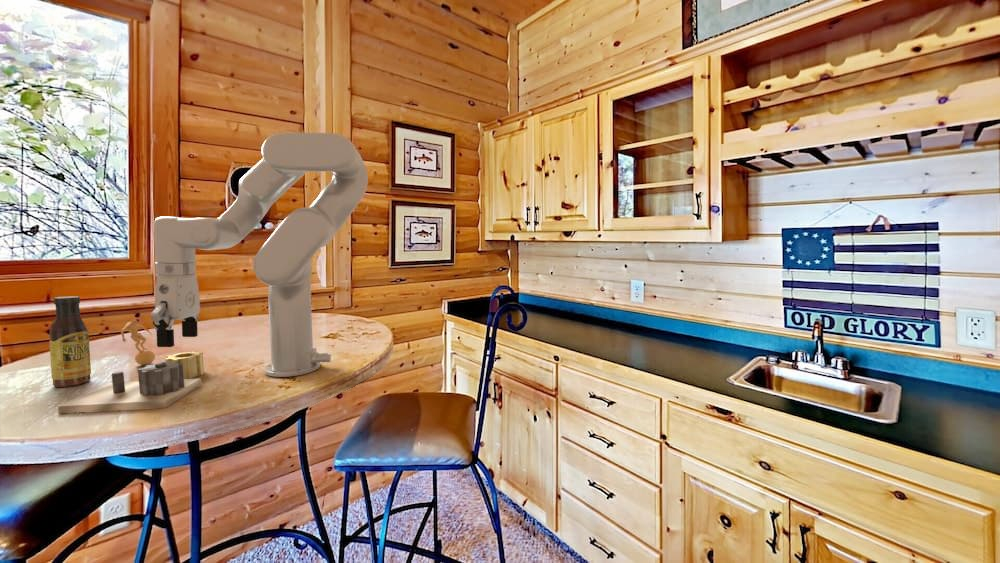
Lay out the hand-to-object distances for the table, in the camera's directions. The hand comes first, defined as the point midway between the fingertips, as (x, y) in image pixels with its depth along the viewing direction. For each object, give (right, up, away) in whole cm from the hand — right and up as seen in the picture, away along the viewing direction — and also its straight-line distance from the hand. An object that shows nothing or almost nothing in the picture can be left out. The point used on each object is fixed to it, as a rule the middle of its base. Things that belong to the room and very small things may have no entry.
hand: (178, 341), depth 99 cm
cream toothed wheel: (+1, -8, +1) cm, 9 cm away
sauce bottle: (-20, -9, -4) cm, 23 cm away
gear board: (+1, -10, -13) cm, 16 cm away
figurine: (-17, -8, +9) cm, 21 cm away
